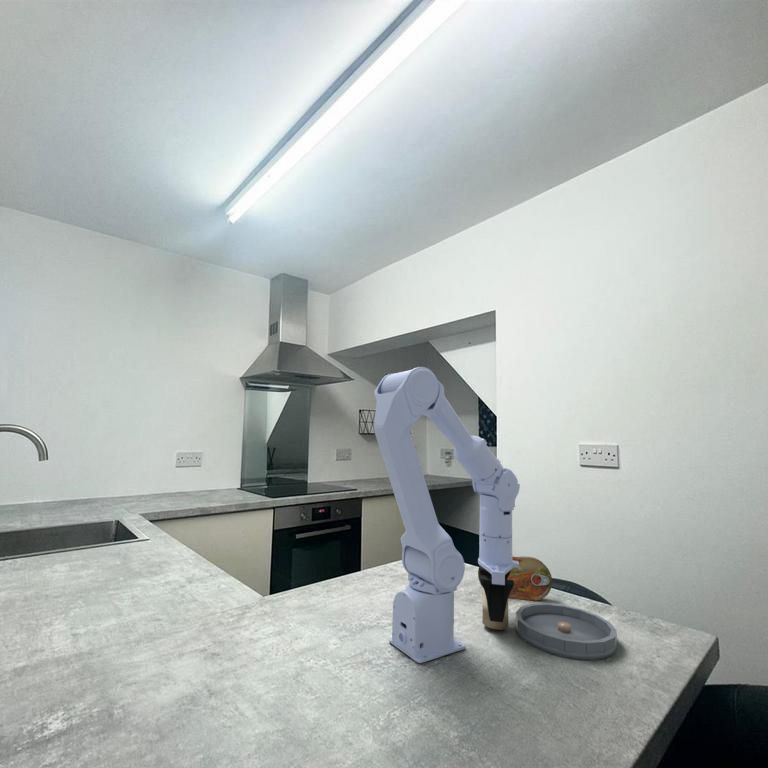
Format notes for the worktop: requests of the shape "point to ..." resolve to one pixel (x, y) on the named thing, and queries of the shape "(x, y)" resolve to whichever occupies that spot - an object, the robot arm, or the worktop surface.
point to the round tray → (566, 631)
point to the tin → (529, 579)
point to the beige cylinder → (486, 618)
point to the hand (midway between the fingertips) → (495, 615)
